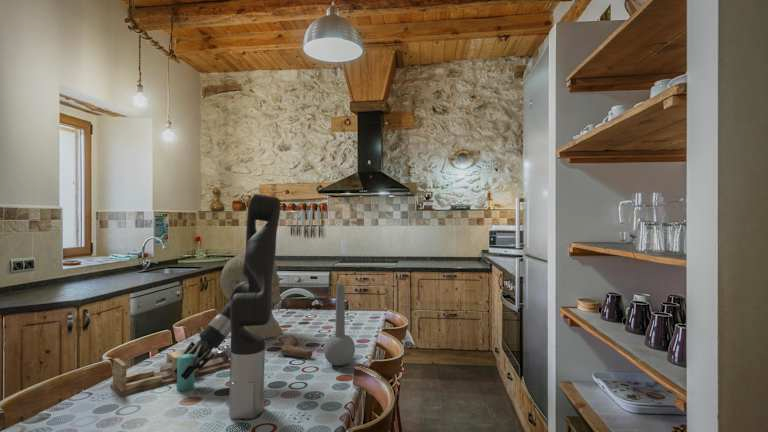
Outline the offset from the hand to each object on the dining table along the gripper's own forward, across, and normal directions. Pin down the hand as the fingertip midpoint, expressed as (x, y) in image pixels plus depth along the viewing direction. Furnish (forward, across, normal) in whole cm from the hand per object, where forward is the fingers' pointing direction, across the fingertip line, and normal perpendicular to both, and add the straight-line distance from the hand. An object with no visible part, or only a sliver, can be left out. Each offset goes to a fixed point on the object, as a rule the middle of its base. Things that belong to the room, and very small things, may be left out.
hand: (179, 375), depth 126 cm
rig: (0, -13, +6) cm, 14 cm away
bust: (-32, -43, +38) cm, 66 cm away
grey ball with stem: (-34, +17, +40) cm, 55 cm away
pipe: (-30, -2, +36) cm, 47 cm away
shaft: (-5, -13, +10) cm, 17 cm away
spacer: (+2, 0, +4) cm, 5 cm away
